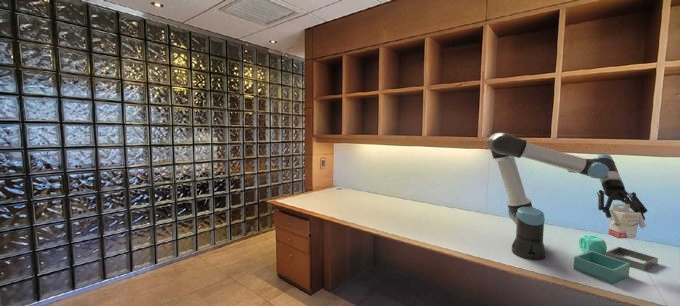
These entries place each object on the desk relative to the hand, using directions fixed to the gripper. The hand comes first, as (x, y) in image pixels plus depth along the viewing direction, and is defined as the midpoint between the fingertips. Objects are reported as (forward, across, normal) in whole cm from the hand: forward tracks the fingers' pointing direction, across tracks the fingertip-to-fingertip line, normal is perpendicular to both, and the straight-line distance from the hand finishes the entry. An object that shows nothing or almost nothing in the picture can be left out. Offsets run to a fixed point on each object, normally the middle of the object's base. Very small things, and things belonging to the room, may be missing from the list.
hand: (628, 225), depth 123 cm
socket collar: (+6, -10, -25) cm, 27 cm away
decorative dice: (+3, +3, -30) cm, 30 cm away
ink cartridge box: (+2, 0, -7) cm, 7 cm away
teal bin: (+18, +10, -13) cm, 24 cm away
